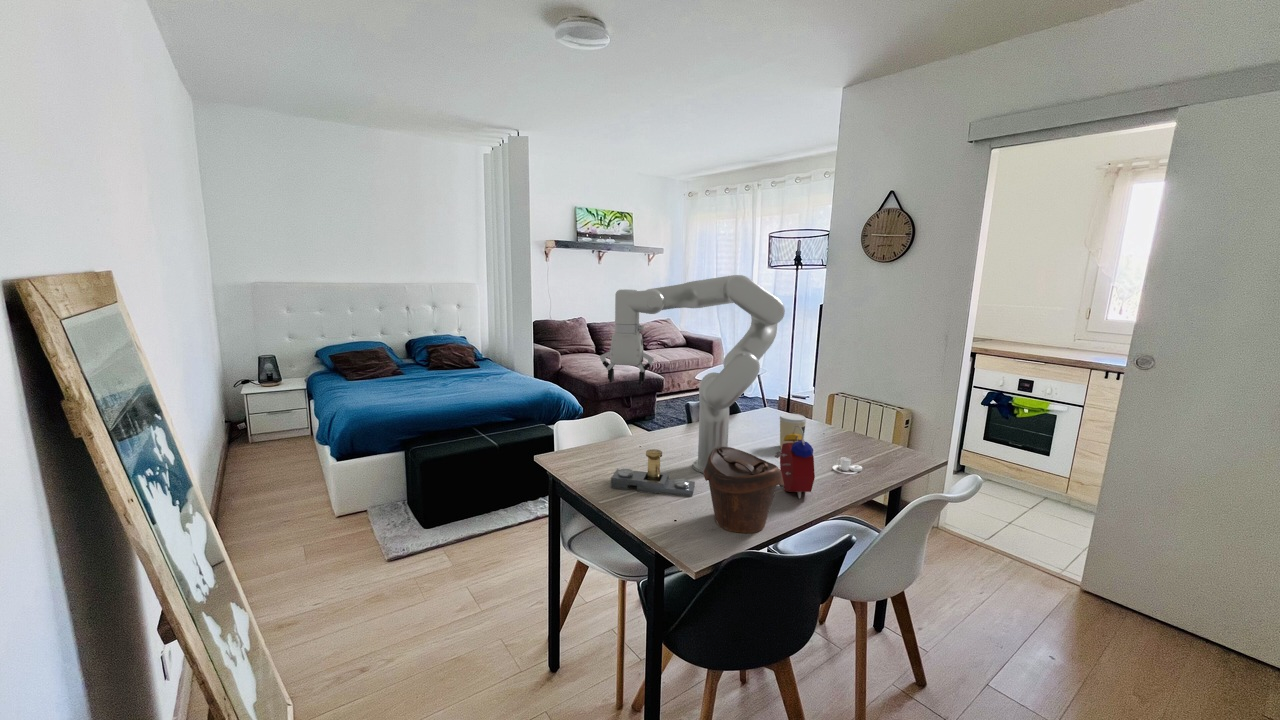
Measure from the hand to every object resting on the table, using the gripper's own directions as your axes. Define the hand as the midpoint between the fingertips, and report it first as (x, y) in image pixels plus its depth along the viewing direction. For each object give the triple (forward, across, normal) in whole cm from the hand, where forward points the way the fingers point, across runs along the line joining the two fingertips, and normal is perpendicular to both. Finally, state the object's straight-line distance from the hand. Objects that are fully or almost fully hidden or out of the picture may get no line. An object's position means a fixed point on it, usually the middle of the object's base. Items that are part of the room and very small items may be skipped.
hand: (626, 382), depth 163 cm
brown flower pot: (+28, -38, +30) cm, 56 cm away
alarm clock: (+28, -52, +7) cm, 59 cm away
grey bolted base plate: (+28, -12, +14) cm, 34 cm away
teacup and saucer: (+29, -72, -12) cm, 79 cm away
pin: (+28, -12, +14) cm, 34 cm away
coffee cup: (+28, -55, -33) cm, 70 cm away
